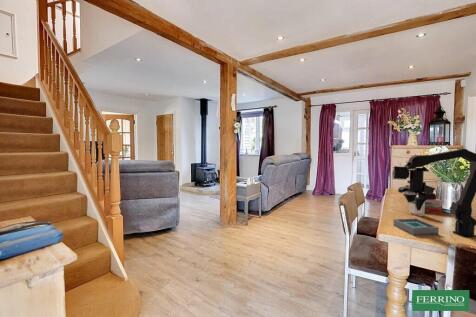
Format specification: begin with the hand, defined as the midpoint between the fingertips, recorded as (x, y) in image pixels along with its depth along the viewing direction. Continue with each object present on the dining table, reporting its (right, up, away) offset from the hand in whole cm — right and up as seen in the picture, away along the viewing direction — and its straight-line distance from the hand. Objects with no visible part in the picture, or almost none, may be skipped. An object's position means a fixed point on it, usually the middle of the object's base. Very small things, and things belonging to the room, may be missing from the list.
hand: (415, 209), depth 125 cm
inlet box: (0, -11, +1) cm, 11 cm away
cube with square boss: (0, -2, 0) cm, 2 cm away
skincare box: (+20, -9, +25) cm, 33 cm away
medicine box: (+32, -8, +33) cm, 46 cm away
